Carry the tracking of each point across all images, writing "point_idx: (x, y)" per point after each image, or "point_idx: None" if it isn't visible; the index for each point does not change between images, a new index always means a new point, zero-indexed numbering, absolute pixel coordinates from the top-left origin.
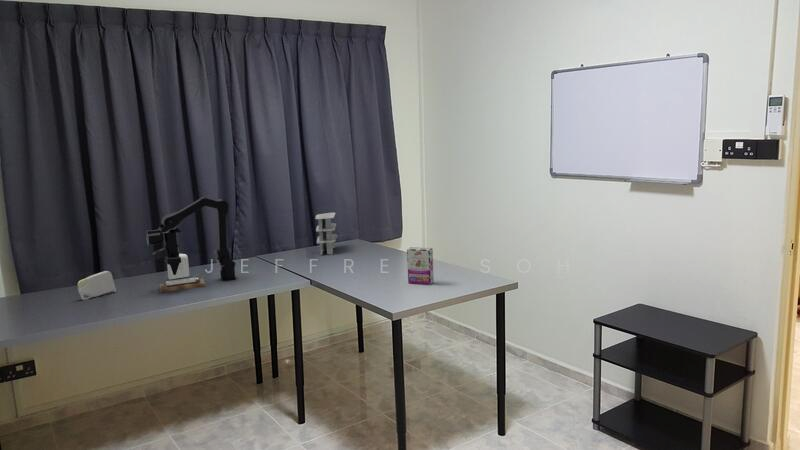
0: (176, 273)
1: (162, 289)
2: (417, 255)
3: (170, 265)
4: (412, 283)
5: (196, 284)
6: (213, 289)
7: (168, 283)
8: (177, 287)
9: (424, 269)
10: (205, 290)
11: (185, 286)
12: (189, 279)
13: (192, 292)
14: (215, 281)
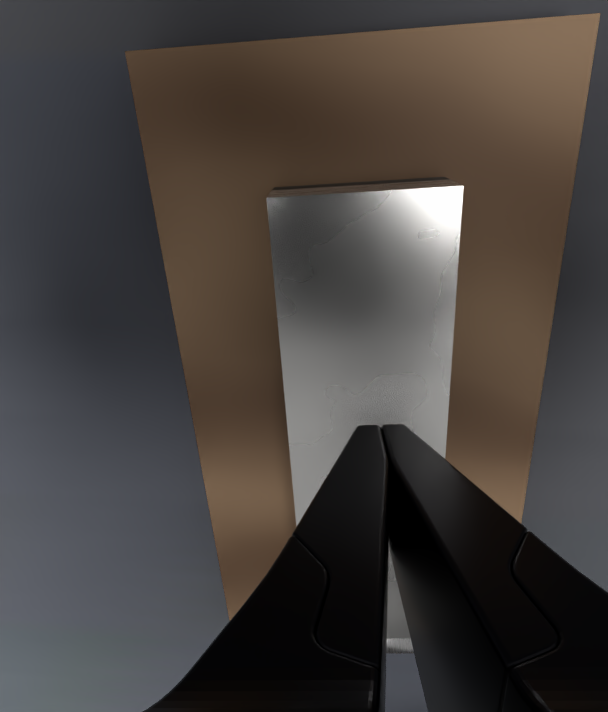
0: None
1: (138, 101)
2: None
3: (183, 679)
4: None
5: (223, 578)
6: (71, 660)
7: (273, 238)
8: (182, 359)
9: None
10: (55, 605)
11: (203, 459)
12: None
13: (5, 495)
14: (408, 699)
